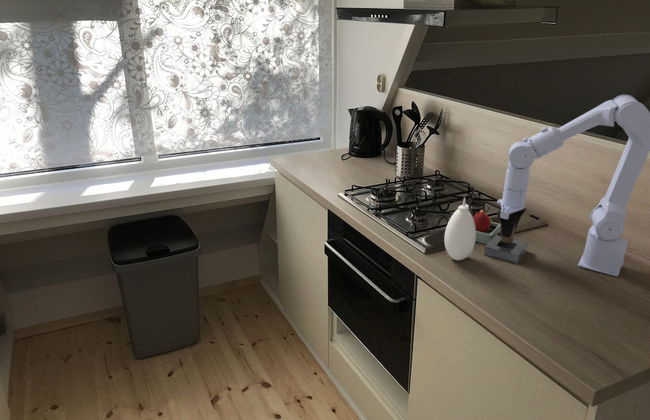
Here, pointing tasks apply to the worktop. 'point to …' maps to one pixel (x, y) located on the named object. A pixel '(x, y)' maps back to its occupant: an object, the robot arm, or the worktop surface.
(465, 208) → the sauce bottle
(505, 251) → the gray square socket block
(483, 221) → the onion
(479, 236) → the case
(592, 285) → the worktop surface
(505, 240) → the tan upright cylinder
